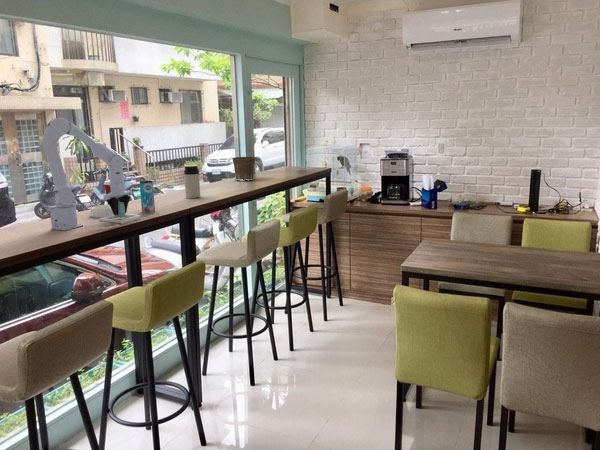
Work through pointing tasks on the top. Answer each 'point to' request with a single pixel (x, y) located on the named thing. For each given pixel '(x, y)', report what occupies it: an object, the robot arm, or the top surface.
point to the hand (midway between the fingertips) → (120, 213)
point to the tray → (123, 221)
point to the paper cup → (108, 188)
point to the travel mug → (192, 181)
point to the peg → (121, 210)
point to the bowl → (101, 211)
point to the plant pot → (244, 167)
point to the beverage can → (147, 196)
